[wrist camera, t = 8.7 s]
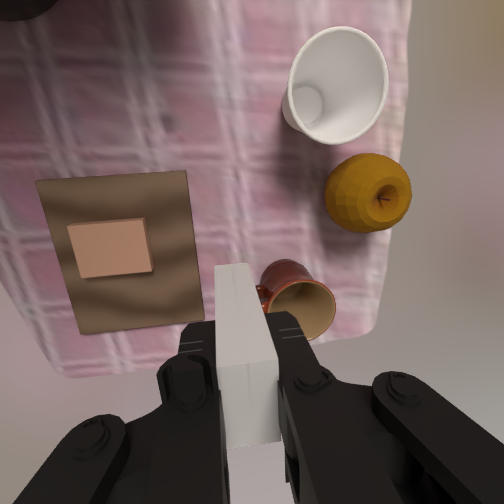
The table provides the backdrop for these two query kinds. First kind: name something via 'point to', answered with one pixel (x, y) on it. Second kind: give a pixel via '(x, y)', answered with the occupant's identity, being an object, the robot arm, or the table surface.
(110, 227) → the tile
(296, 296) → the mug
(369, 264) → the table surface
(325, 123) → the cup
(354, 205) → the apple
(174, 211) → the board
